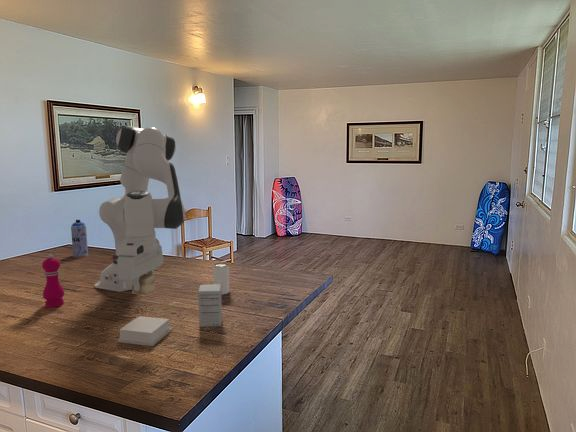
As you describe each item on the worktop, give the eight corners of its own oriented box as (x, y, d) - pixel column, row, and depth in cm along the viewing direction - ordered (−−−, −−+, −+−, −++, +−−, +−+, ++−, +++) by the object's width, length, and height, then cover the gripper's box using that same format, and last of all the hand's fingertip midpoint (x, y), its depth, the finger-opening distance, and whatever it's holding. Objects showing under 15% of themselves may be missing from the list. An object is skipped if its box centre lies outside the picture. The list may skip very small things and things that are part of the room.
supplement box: (201, 318, 154) (200, 284, 152) (222, 318, 155) (221, 283, 153) (198, 327, 147) (197, 291, 145) (221, 326, 148) (220, 290, 146)
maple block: (132, 293, 136) (131, 278, 135) (141, 288, 141) (140, 273, 140) (146, 294, 135) (145, 279, 134) (155, 289, 140) (154, 274, 139)
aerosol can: (69, 256, 240) (66, 220, 237) (78, 253, 248) (76, 218, 245) (82, 257, 239) (80, 221, 236) (91, 253, 247) (88, 218, 244)
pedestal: (117, 342, 136) (117, 330, 135) (139, 326, 147) (138, 315, 147) (152, 346, 133) (152, 333, 132) (171, 330, 145) (171, 318, 144)
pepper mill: (43, 309, 163) (38, 257, 160) (44, 303, 169) (39, 253, 166) (65, 306, 166) (61, 255, 163) (65, 300, 172) (61, 251, 169)
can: (226, 295, 178) (225, 267, 176) (211, 294, 179) (210, 266, 177) (231, 290, 184) (231, 263, 182) (217, 289, 185) (216, 262, 183)
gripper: (149, 236, 146) (151, 276, 148) (112, 250, 126) (115, 296, 129) (166, 237, 145) (168, 277, 147) (131, 251, 125) (134, 298, 127)
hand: (143, 286), depth 138 cm, fingers closed on maple block, 5 cm apart
